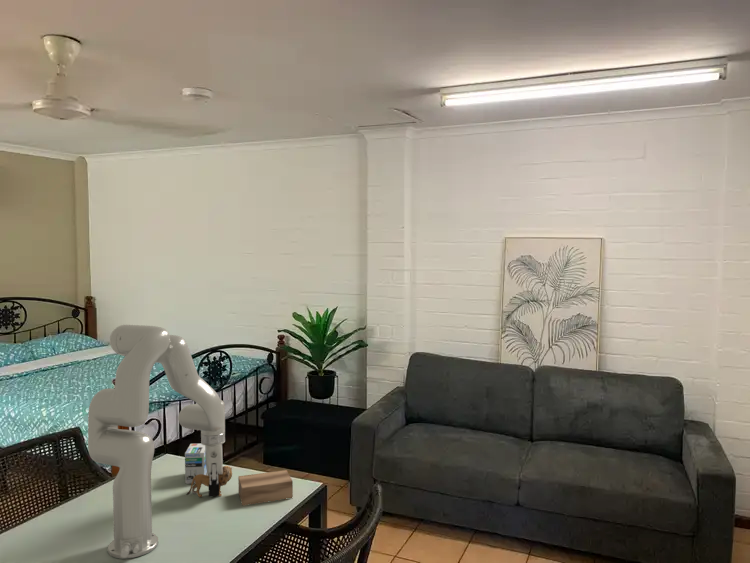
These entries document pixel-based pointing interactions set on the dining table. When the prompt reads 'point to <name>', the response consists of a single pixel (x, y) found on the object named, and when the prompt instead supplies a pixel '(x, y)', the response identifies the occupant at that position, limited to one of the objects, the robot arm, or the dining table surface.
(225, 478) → the lion figurine
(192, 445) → the light bulb box
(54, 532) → the dining table surface
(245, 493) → the walnut block
